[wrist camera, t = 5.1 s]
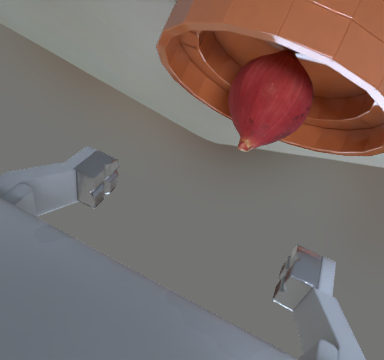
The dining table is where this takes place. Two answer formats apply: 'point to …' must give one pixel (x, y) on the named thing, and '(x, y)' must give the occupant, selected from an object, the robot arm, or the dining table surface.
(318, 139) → the terracotta bowl
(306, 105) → the onion
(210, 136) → the dining table surface
